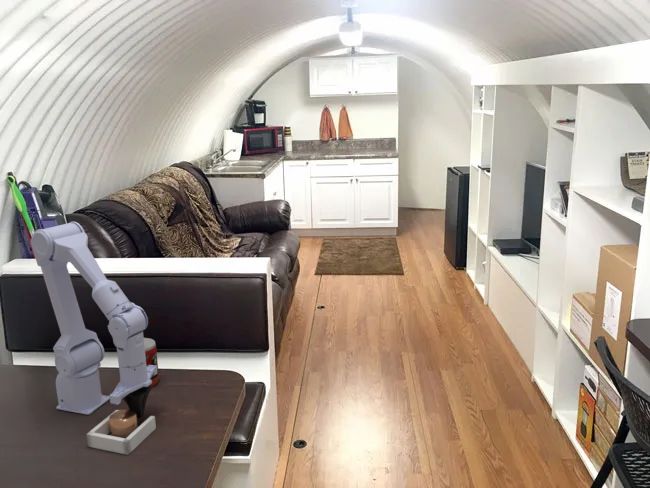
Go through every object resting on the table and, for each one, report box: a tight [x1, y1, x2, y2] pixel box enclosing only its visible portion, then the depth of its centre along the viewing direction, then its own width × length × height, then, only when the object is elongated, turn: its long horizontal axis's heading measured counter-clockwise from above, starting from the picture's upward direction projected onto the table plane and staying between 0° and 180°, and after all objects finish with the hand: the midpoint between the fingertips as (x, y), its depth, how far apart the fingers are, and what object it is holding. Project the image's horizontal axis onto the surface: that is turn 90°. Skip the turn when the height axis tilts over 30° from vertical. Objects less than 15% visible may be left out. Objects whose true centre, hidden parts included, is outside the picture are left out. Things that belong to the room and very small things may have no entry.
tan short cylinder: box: [109, 408, 139, 439], centre depth 125 cm, size 6×6×4 cm
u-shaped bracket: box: [85, 409, 157, 456], centre depth 123 cm, size 10×10×3 cm
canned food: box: [144, 337, 160, 388], centre depth 145 cm, size 8×8×11 cm
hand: (138, 416), depth 128 cm, fingers closed
